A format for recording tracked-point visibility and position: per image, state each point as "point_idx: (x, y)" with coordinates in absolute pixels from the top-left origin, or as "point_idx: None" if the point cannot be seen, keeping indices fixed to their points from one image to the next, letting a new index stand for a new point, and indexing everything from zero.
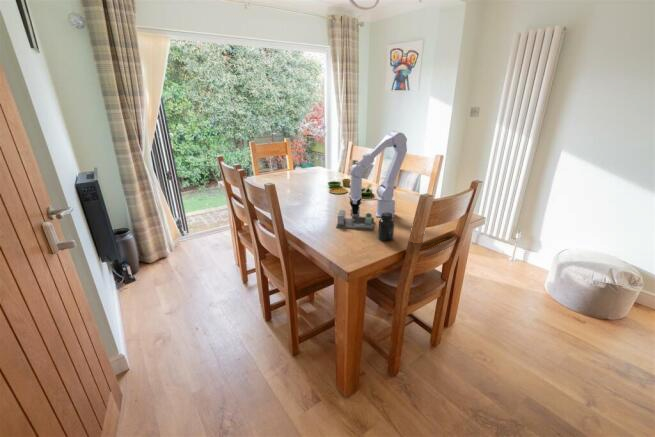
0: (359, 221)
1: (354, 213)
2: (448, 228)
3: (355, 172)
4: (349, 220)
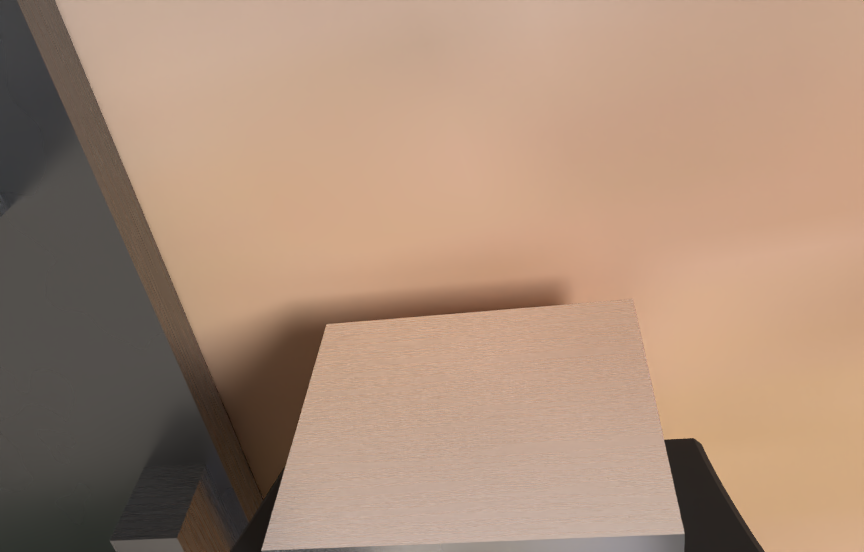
0: (109, 534)
1: None
2: None
3: None
4: (14, 331)
